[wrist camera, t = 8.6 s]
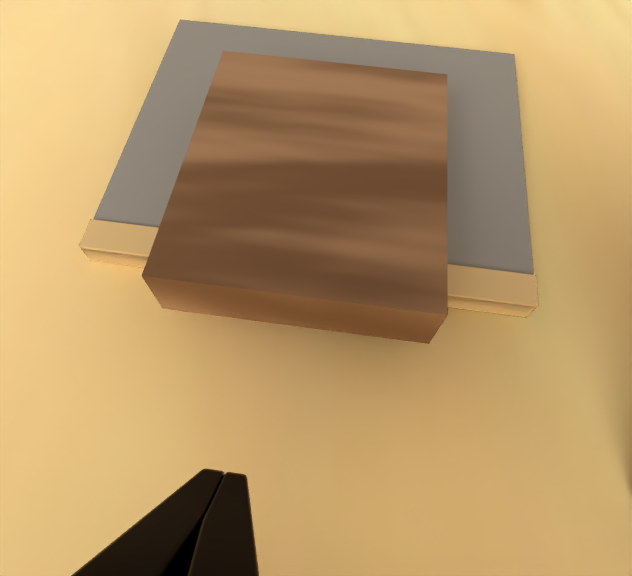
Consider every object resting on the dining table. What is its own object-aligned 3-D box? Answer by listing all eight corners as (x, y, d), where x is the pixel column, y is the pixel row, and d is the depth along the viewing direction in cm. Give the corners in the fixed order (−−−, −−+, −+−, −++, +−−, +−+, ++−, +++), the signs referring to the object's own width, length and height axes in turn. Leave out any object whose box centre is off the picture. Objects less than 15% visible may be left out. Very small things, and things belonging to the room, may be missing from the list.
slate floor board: (525, 317, 22) (538, 305, 21) (90, 260, 23) (78, 246, 22) (507, 70, 30) (515, 51, 29) (184, 36, 31) (179, 16, 30)
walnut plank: (447, 315, 17) (447, 74, 24) (141, 275, 18) (222, 50, 24) (429, 343, 20) (433, 119, 27) (162, 308, 21) (231, 97, 27)
